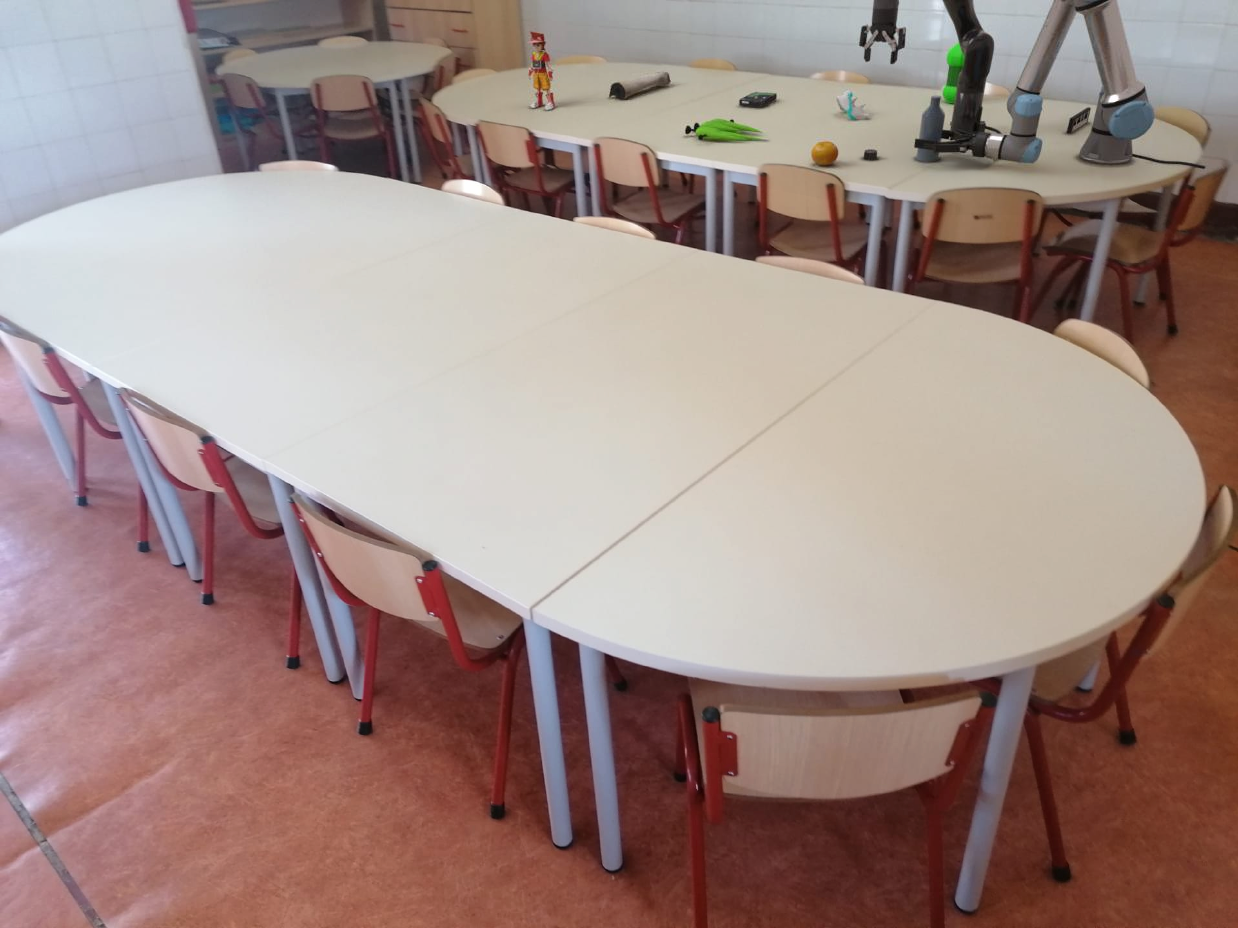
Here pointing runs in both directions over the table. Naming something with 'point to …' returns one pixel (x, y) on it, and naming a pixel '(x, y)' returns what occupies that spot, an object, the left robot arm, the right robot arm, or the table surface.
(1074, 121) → the midi keyboard
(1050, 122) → the table surface
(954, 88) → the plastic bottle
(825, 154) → the fruit
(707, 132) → the toy
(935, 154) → the bottle
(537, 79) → the toy
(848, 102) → the anatomical model
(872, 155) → the cap
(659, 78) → the rolled mat
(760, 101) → the disk drive
